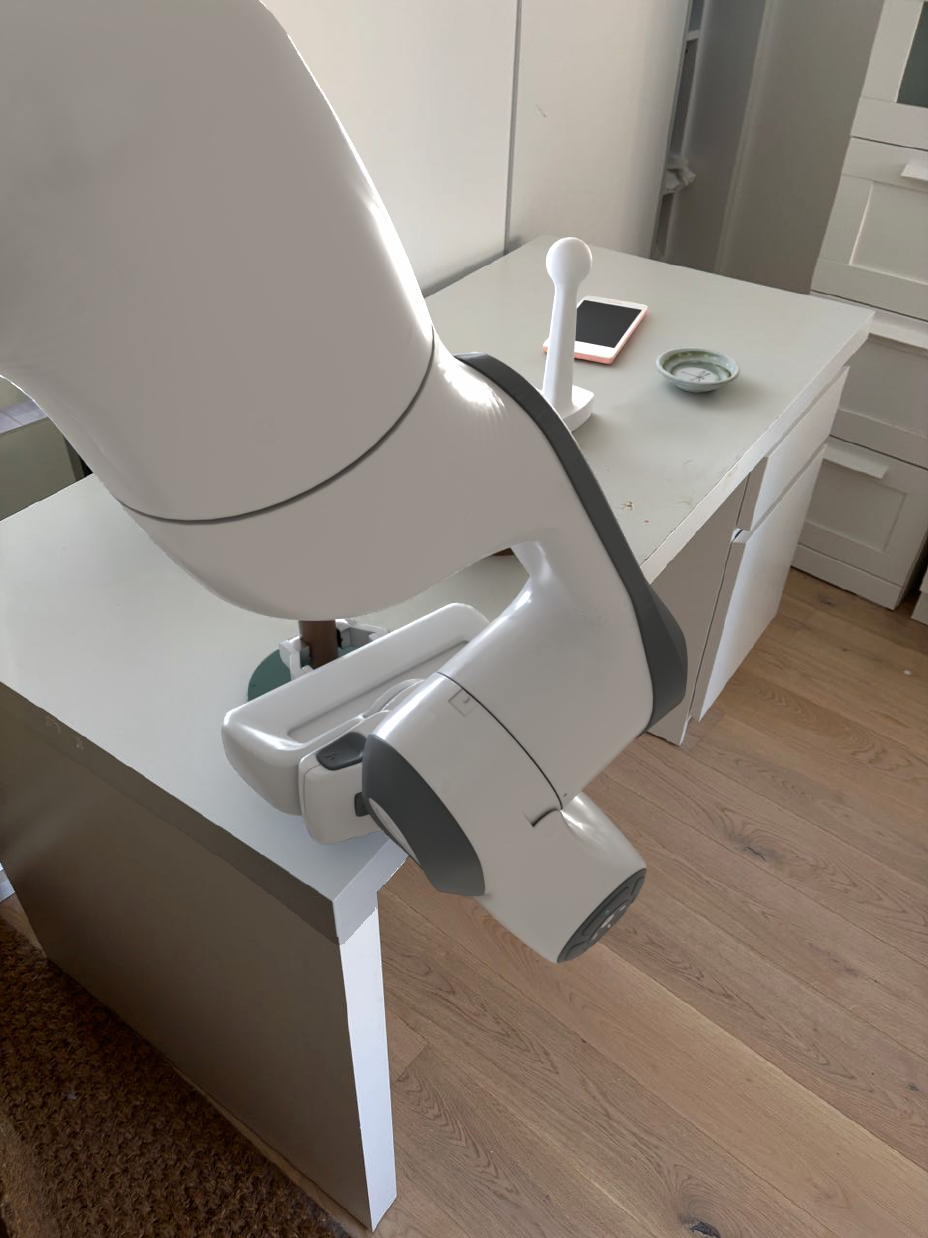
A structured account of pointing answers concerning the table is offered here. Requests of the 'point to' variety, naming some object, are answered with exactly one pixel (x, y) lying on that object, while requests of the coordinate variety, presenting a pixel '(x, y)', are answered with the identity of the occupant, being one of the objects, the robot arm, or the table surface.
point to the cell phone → (603, 327)
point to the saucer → (697, 368)
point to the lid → (321, 652)
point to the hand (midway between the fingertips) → (312, 635)
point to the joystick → (566, 332)
